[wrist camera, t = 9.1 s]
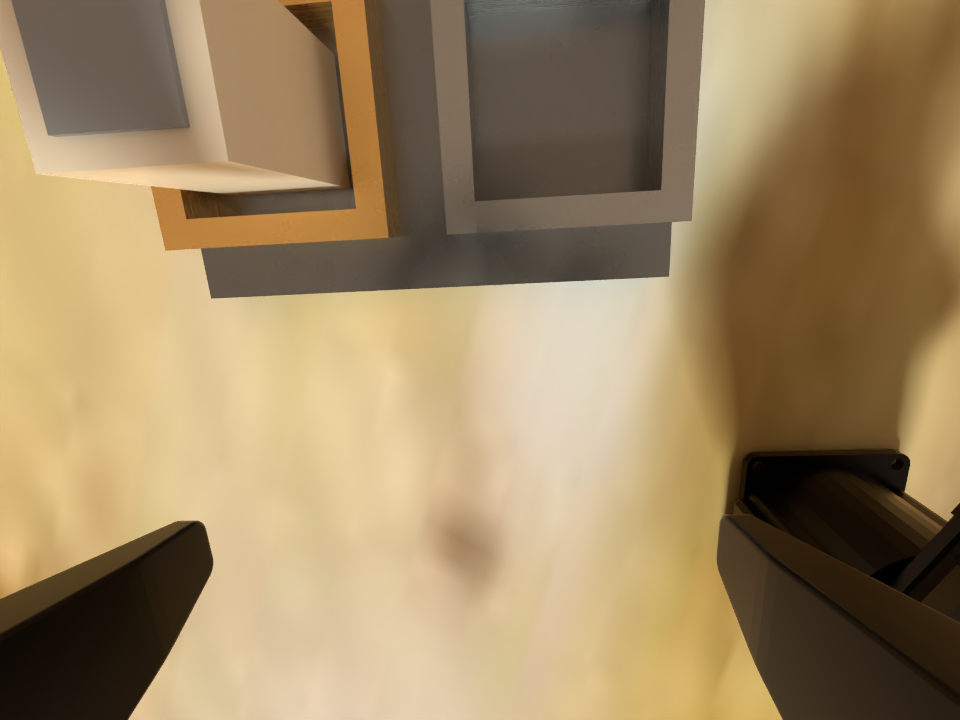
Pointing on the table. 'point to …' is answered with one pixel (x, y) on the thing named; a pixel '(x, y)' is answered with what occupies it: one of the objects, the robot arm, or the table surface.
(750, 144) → the table surface
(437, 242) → the panel
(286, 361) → the table surface
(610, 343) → the table surface
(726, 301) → the table surface
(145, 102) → the plug
